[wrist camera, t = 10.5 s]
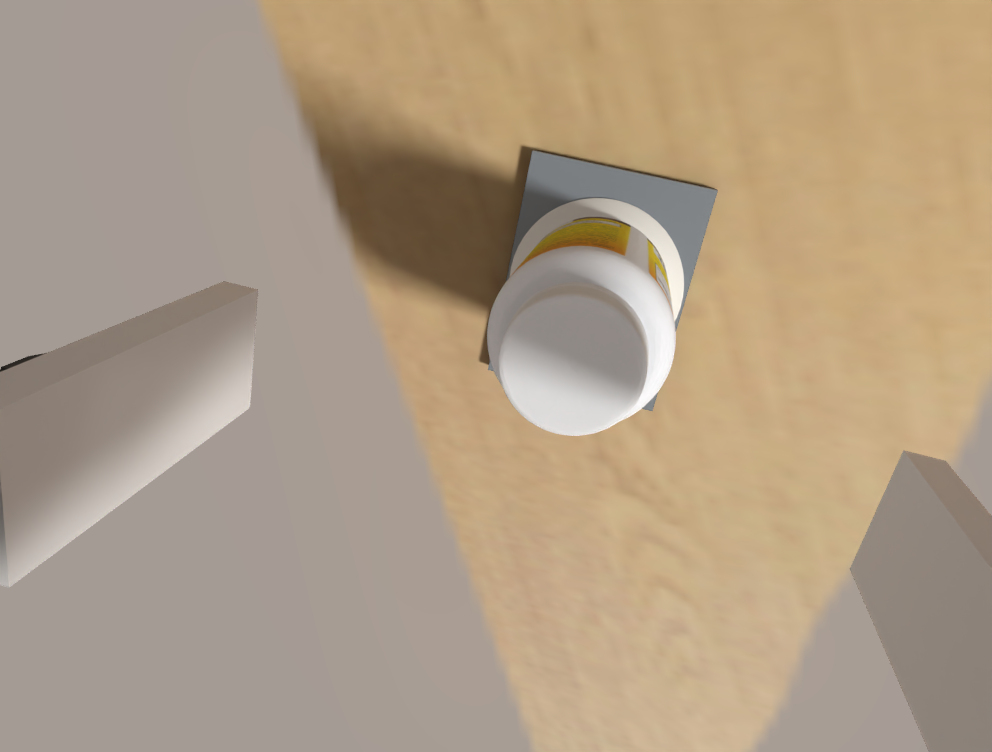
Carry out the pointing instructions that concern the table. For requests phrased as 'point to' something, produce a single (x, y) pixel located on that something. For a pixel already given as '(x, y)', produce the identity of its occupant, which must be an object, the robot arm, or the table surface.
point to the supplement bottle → (584, 327)
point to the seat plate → (616, 213)
